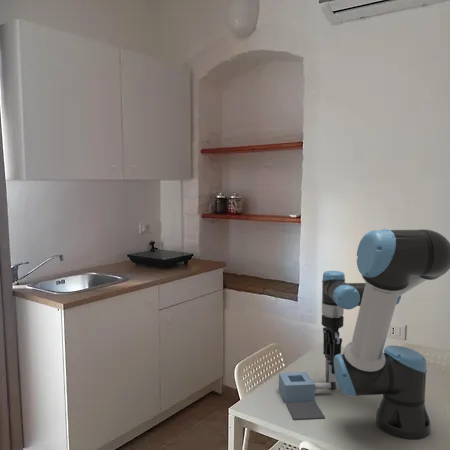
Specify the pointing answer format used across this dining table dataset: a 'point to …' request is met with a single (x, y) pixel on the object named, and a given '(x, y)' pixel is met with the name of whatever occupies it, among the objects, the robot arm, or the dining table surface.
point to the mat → (305, 411)
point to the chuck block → (299, 387)
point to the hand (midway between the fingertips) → (331, 378)
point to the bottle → (333, 384)
